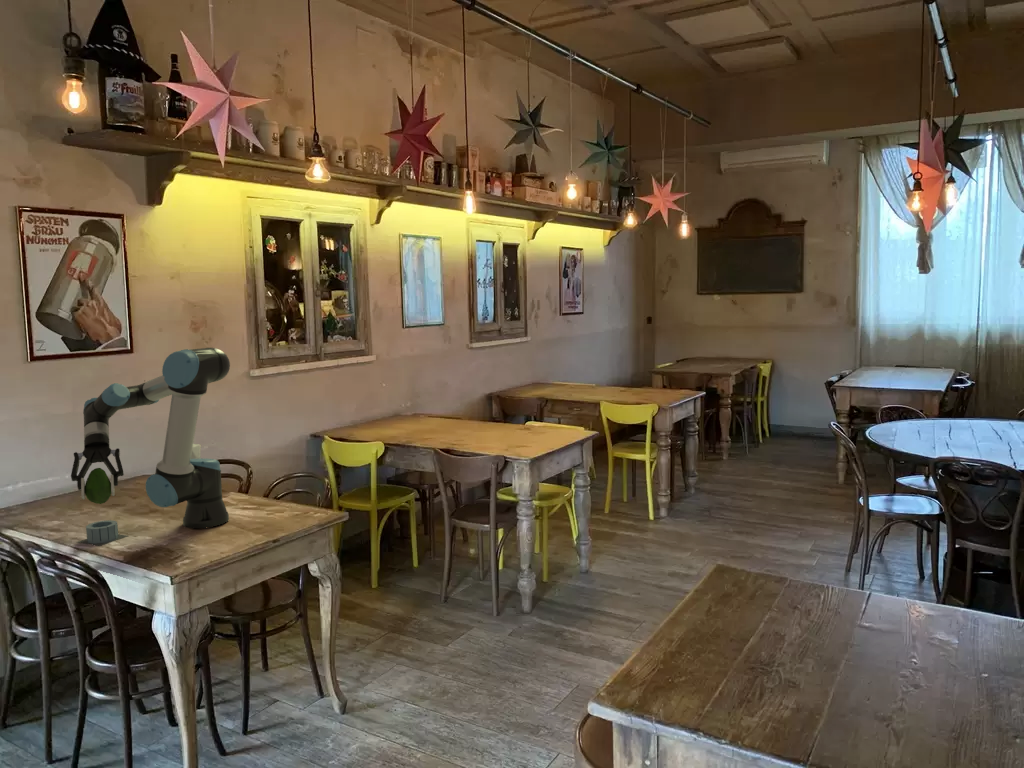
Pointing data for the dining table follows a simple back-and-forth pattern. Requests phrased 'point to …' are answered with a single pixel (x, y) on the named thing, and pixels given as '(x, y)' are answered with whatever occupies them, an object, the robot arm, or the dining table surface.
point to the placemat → (102, 543)
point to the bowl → (102, 531)
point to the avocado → (98, 486)
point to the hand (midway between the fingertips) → (98, 495)
